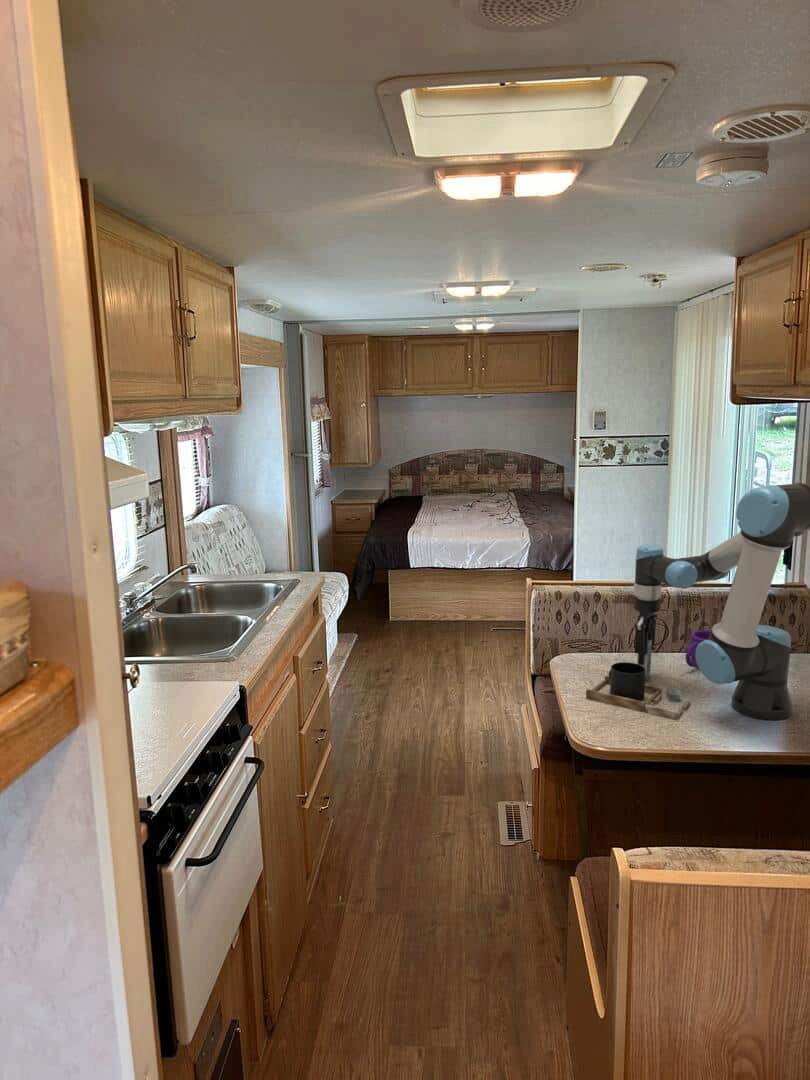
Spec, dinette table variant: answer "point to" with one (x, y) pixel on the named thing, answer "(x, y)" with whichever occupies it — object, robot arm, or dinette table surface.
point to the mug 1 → (627, 680)
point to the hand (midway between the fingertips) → (643, 672)
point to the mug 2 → (694, 642)
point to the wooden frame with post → (623, 701)
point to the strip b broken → (672, 696)
